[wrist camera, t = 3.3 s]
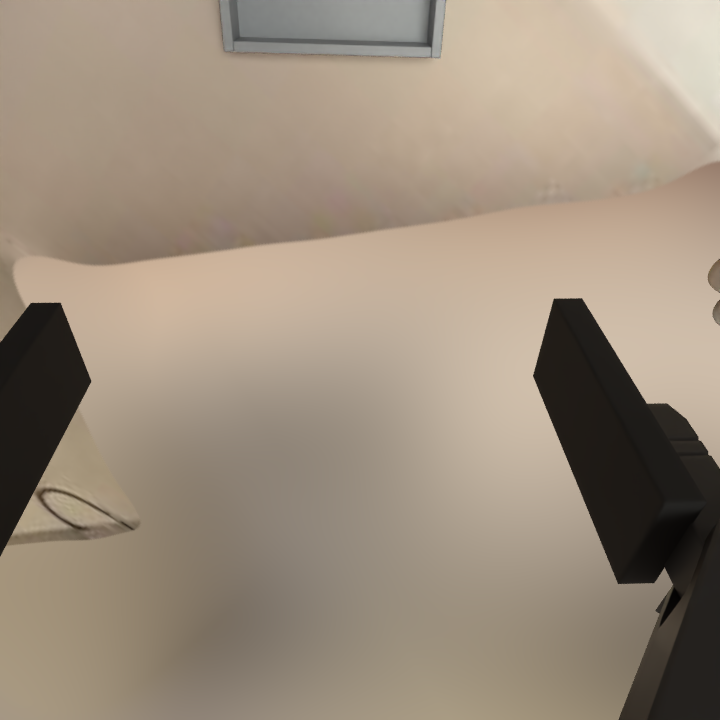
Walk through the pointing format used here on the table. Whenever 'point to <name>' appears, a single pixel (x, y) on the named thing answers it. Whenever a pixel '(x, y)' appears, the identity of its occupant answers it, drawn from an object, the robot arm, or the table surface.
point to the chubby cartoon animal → (715, 287)
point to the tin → (334, 27)
